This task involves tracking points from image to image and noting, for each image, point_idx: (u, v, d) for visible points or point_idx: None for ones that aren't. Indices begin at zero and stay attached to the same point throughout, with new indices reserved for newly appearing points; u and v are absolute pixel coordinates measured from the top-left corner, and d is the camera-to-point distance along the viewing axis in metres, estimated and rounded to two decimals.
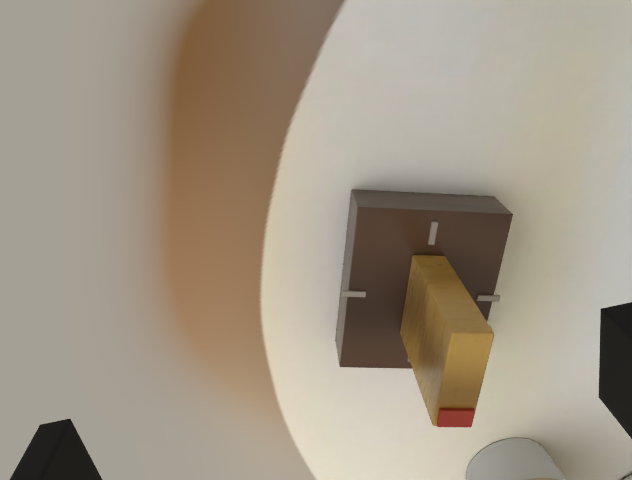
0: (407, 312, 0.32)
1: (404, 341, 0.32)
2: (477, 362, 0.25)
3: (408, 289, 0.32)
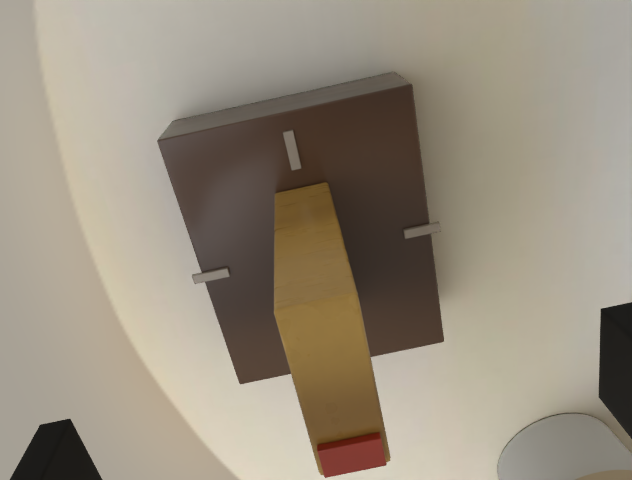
0: None
1: None
2: (348, 353, 0.13)
3: None
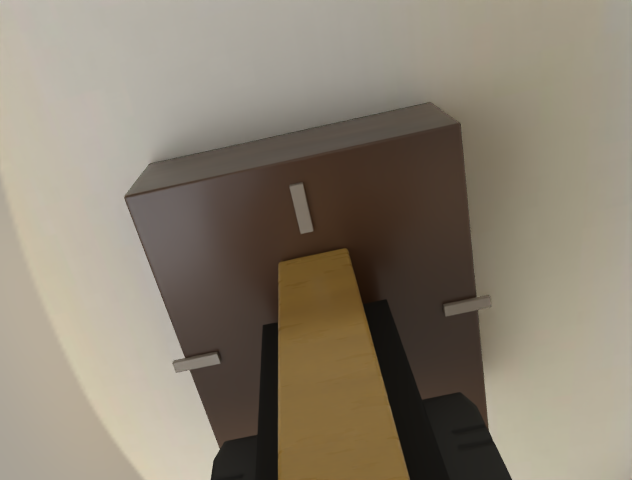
0: None
1: None
2: None
3: None
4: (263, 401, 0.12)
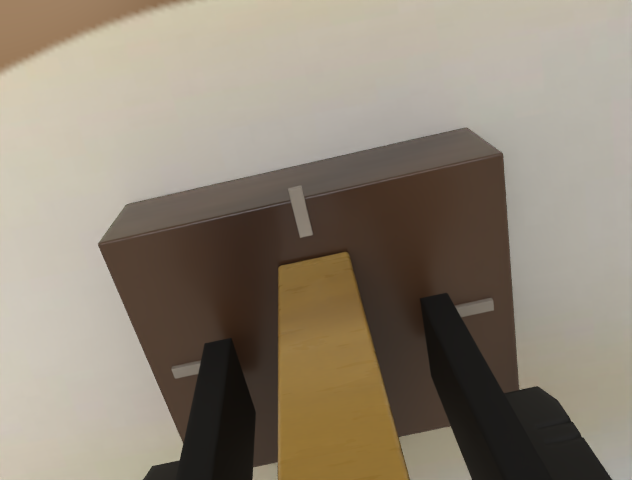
0: None
1: None
2: None
3: None
4: (191, 425, 0.12)
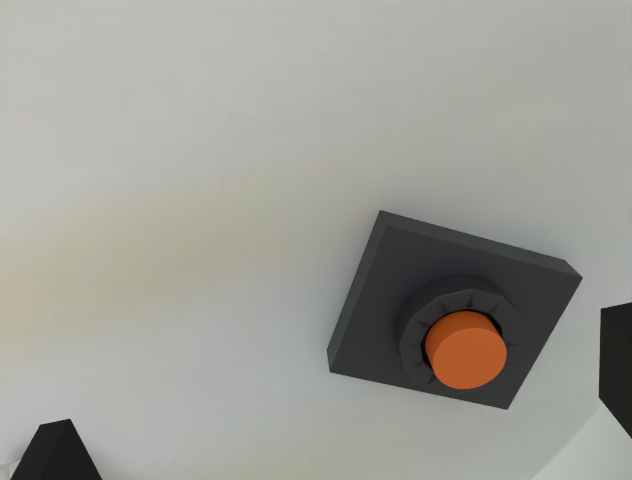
0: None
1: None
2: None
3: None
4: None
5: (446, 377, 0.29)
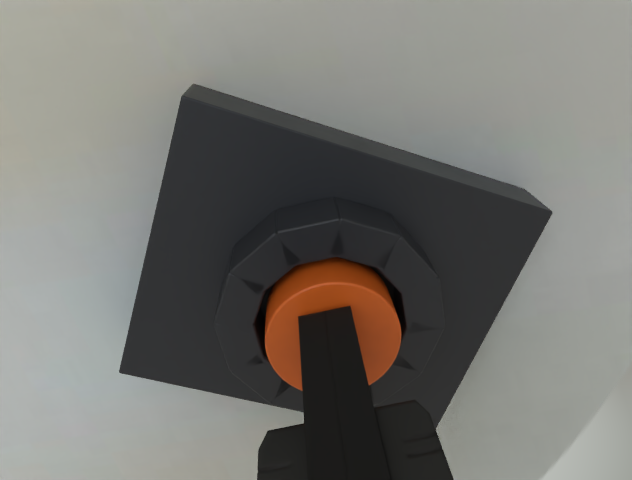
0: None
1: None
2: None
3: None
4: (306, 390, 0.12)
5: (293, 374, 0.16)
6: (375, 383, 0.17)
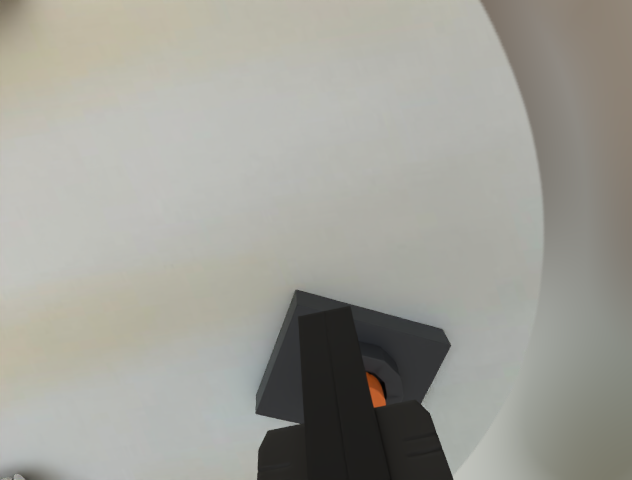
0: None
1: None
2: None
3: None
4: (307, 390, 0.12)
5: None
6: None
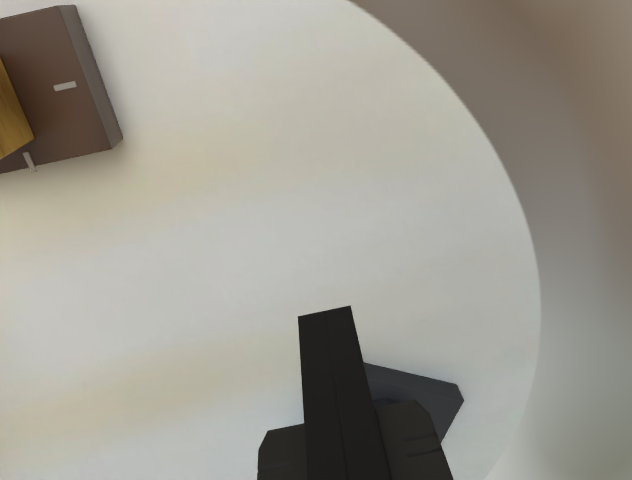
0: None
1: None
2: None
3: None
4: (307, 390, 0.12)
5: None
6: None
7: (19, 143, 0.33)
